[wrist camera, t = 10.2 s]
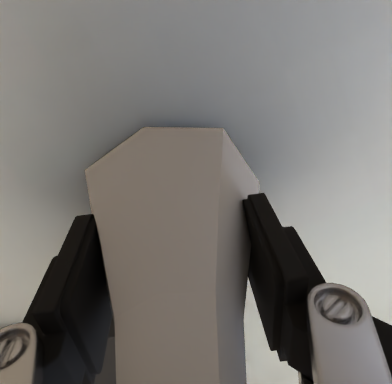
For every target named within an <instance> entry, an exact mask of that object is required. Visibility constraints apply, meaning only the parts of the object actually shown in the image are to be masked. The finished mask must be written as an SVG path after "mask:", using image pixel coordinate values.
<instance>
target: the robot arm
mask: <svg viewBox="0 0 392 384" xmlns="http://www.w3.org/2000/svg"><path fill="white" fill-rule="evenodd" d="M242 201H243V206H244V211H245V216H246V221H247V226H248V231H249V237H250V242H251V251H250V261H249V270H248V278H249V281H250V285H251V288H252V291H253V294H254V298H255V301H256V304H257V308H258V311H259V314H260V318H261V321H262V324H263V328H264V331H265V334H266V338H267V341H268V344H269V347H270V350H271V351H274V350H277V353H278V356H279V359H280V361H287V362H288V365H289V366H291V367H292V368H294V369H296V370H297V371H298V378H299V384H392V325H389V324H387V323H385V322H383V321H381V320H379V319H377V318H375V317H372V316H371V313H370V310H369V307H368V305H367V303H366V302H365V300H364V299H363V298H362V297H361V296H360V295H359V294H358V293H357V292H355V291H354V290H352V289H351V288H349V287H346V286H344V285H341V284H336V283H326V282H325V280H324V278H323V277H322V275H321V273H320V271H319V270H318V268H317V266H316V265H315V263H314V261H313V259H312V258H311V256H310V254H309V253H308V251H307V249H306V247H305V246H304V244H303V242H302V240H301V239H300V237H299V235H298V234H297V232H296V230H295V229H294V228H293V227H292V226H290V227H282V226H281V224H280V222H279V220H278V218H277V216H276V214H275V212H274V211H273V209H272V207H271V205H270V203H269V201H268V199H267V197H266V195H265V194H264V193H258V194H250V195H248V197H247V199H243V200H242ZM111 319H112V310H111V304H110V299H109V294H108V288H107V283H106V277H105V271H104V266H103V260H102V254H101V249H100V243H99V237H98V232H97V226H96V221H95V218H94V214H88V215H80V216H76V217H75V219H74V221H73V223H72V225H71V228H70V230H69V232H68V234H67V236H66V239H65V241H64V243H63V245H62V248H61V250H60V252H59V254H58V256H55V257H54V258H53V259H52V261H51V263H50V265H49V267H48V269H47V271H46V273H45V275H44V277H43V280H42V282H41V284H40V286H39V288H38V290H37V292H36V294H35V297H34V299H33V301H32V303H31V305H30V307H29V309H28V312H27V314H26V316H25V318H24V320H23V322H22V323H16V324H11V325H9V326H6V327H4V328H2V329H0V384H94V381H95V376H96V374H100V373H101V371H102V367H103V362H104V357H105V351H106V346H107V340H108V335H109V329H110V324H111Z"/></svg>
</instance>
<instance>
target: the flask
mask: <svg viewBox="0 0 392 384" xmlns="http://www.w3.org/2000/svg"><path fill="white" fill-rule="evenodd" d="M85 176H86V182H87V188H88V194H89V200H90V207H91V213H92V214H94V218H95V221H96V226H97V232H98V237H99V243H100V249H101V254H102V260H103V266H104V271H105V277H106V283H107V288H108V294H109V299H110V304H111V310H112V315H113V320H114V326H115V357H116V384H246V364H245V343H244V323H243V318H244V308H245V299H246V289H247V280H248V270H249V261H250V251H251V242H250V237H249V231H248V226H247V221H246V216H245V211H244V206H243V201H242V200H243V199H247V197H248V195H250V194H258V193H259V188H260V182H259V181H258V179H257V178H256V176H255V175H254V173H253V172H252V170H251V169H250V167H249V166H248V164H247V163H246V161H245V160H244V158H243V157H242V155H241V154H240V152H239V151H238V149H237V148H236V146H235V145H234V144H233V142H232V141H231V139H230V138H229V136H228V135H227V133H226V132H225V130H224V129H223V128H178V127H143V128H142V129H140V130H139V131H138V132H136V133H135V134H134V135H132V136H131V137H129V138H128V139H127V140H125V141H124V142H123V143H121V144H120V145H119V146H117V147H116V148H114V149H113V150H112V151H110V152H109V153H108V154H106V155H105V156H103V157H102V158H101V159H99V160H98V161H97V162H95V163H94V164H92V165H91V166H90V167H88V168H87V169H86V170H85Z"/></svg>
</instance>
